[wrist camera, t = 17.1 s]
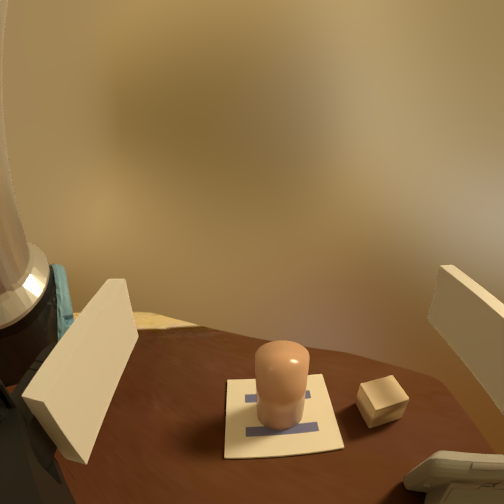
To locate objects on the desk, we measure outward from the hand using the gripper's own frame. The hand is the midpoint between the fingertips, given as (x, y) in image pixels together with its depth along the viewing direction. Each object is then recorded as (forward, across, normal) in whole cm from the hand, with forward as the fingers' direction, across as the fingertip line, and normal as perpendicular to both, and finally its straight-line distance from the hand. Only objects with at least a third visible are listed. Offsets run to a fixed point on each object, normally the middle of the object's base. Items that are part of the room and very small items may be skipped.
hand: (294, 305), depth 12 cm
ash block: (+14, +15, -26) cm, 34 cm away
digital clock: (-4, +20, -26) cm, 33 cm away
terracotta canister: (+16, +2, -26) cm, 31 cm away
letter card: (+16, +2, -26) cm, 31 cm away
